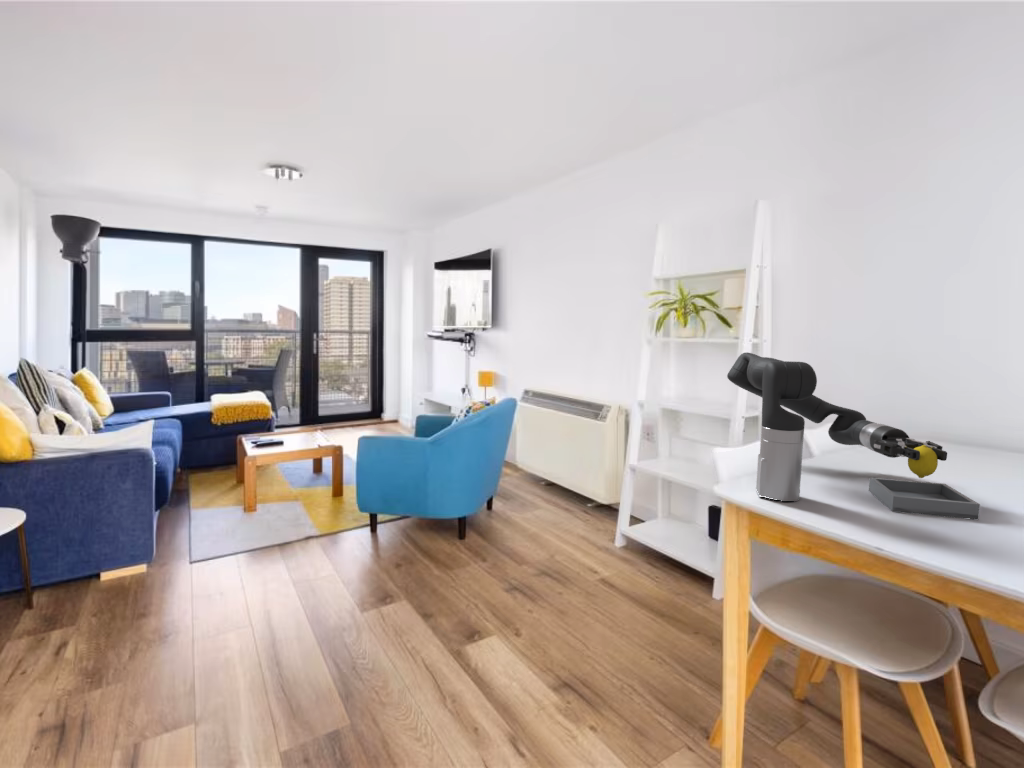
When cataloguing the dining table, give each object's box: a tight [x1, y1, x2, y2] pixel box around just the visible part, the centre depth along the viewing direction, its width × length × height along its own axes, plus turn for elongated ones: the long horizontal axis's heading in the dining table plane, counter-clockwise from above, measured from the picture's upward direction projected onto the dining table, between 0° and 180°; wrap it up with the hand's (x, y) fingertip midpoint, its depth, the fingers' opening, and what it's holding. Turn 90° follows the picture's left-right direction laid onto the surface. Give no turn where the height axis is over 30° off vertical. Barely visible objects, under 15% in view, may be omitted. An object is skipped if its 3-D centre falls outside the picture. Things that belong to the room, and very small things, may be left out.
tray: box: [868, 477, 981, 520], centre depth 124 cm, size 16×16×4 cm
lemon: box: [907, 445, 939, 479], centre depth 123 cm, size 6×6×8 cm
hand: (931, 456), depth 121 cm, fingers closed on lemon, 5 cm apart
